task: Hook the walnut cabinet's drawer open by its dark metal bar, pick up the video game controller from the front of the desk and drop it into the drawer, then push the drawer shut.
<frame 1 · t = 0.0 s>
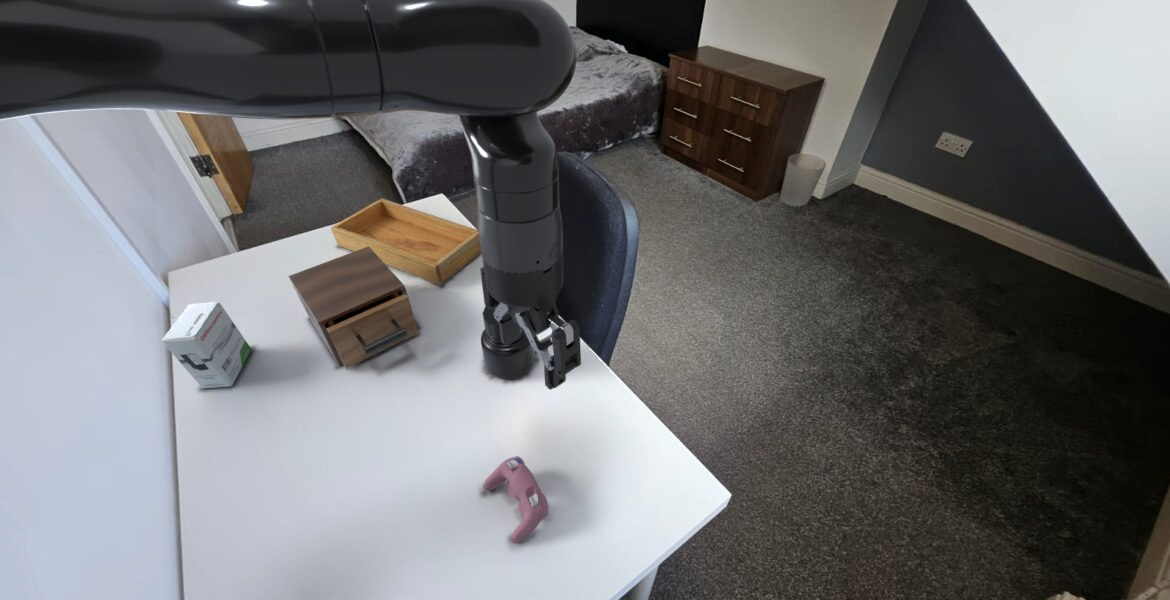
hand: (532, 361, 54), 22 cm above the table, tool pointing down, fingers open, 8 cm apart
ink box: (228, 369, 81), on the table
cabinet: (363, 323, 90), on the table
drawer: (366, 317, 83), point 5 cm above the table, slide at 1.0 cm
video game controller: (517, 505, 64), on the table
tray: (411, 250, 108), on the table
ink bottle: (510, 362, 83), on the table
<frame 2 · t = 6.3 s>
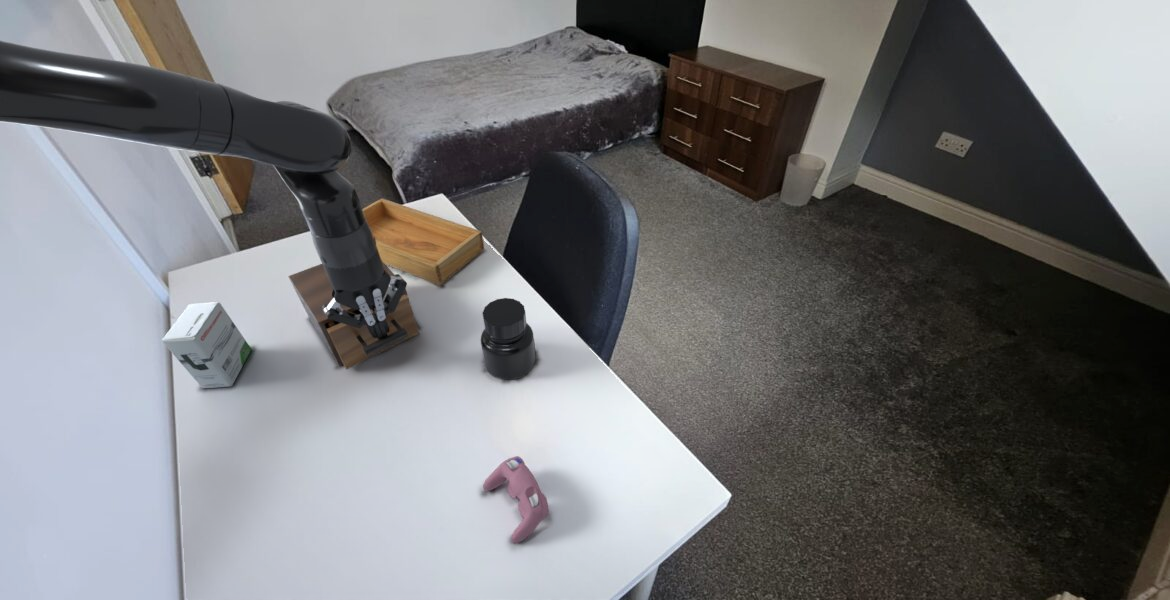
hand: (380, 335, 78), 7 cm above the table, tool pointing down, fingers closed
drawer: (366, 318, 83), point 5 cm above the table, slide at 1.2 cm, touching gripper
everything else where it was.
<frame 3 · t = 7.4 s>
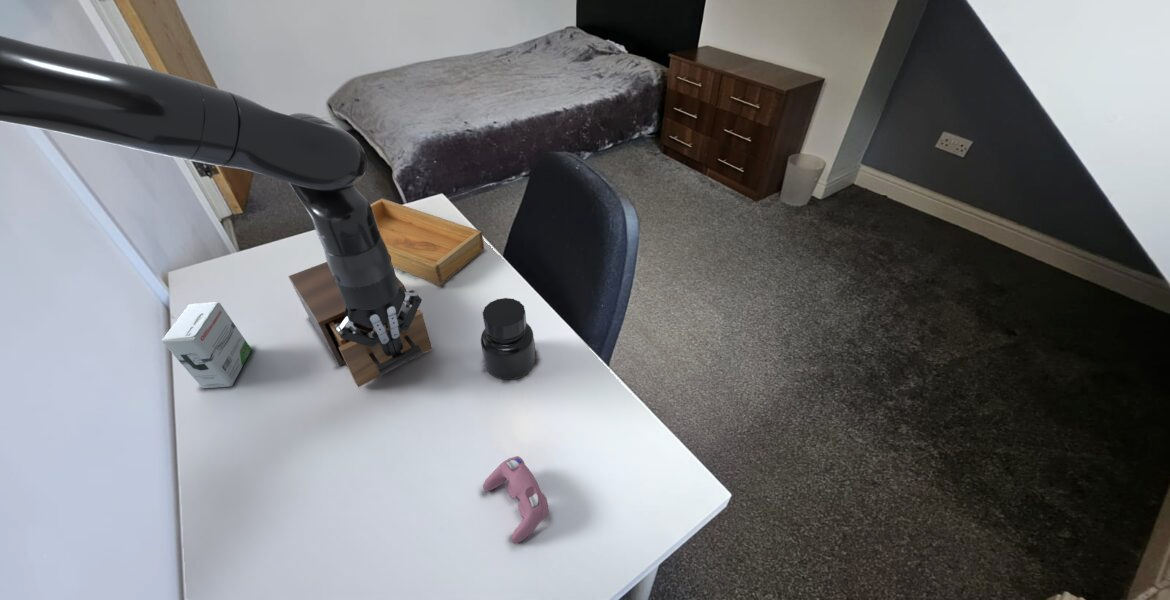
hand: (394, 352, 75), 7 cm above the table, tool pointing down, fingers closed
drawer: (378, 334, 80), point 5 cm above the table, slide at 6.3 cm, touching gripper
everything else where it was.
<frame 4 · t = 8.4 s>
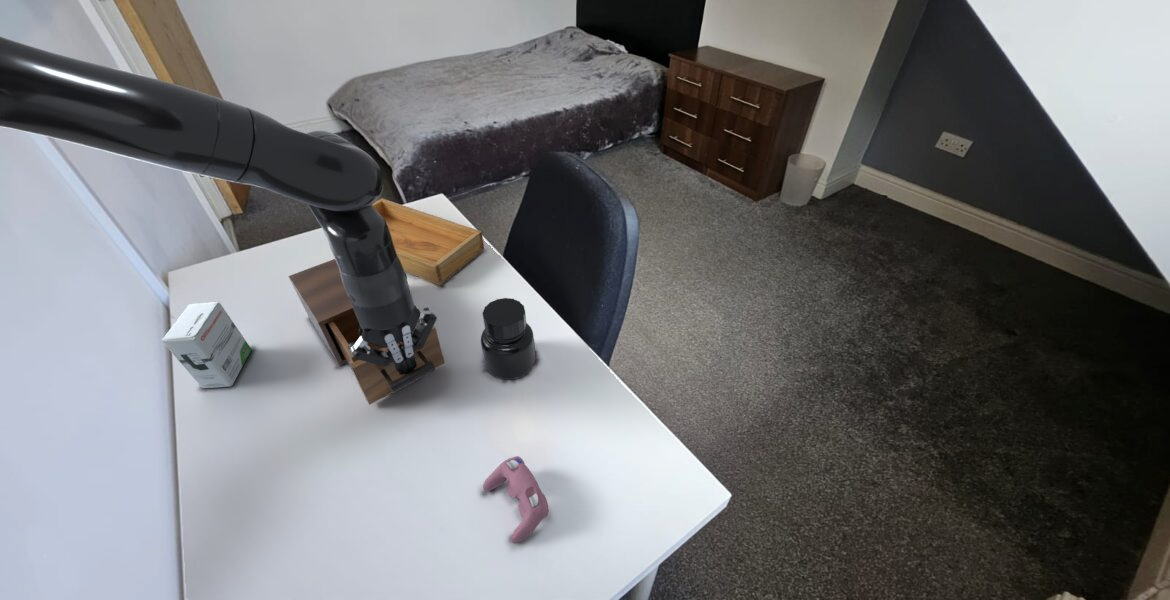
hand: (407, 371, 74), 6 cm above the table, tool pointing down, fingers closed
drawer: (389, 349, 78), point 5 cm above the table, slide at 10.8 cm, touching gripper
everything else where it was.
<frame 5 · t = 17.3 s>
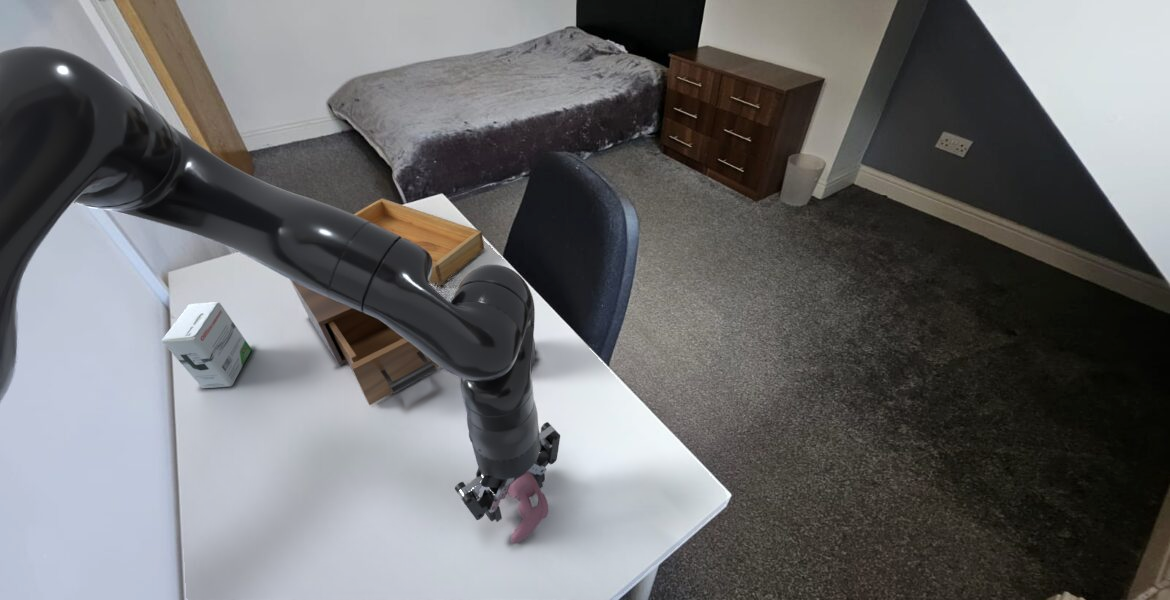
hand: (516, 498, 63), 2 cm above the table, tool pointing down, fingers closed on video game controller, 6 cm apart
drawer: (390, 349, 78), point 5 cm above the table, slide at 10.9 cm
video game controller: (517, 505, 64), on the table, touching gripper
everything else where it was.
when the fingers open (10 cm above the table, at t = 39.4 s): video game controller drops 6 cm, resting on drawer.
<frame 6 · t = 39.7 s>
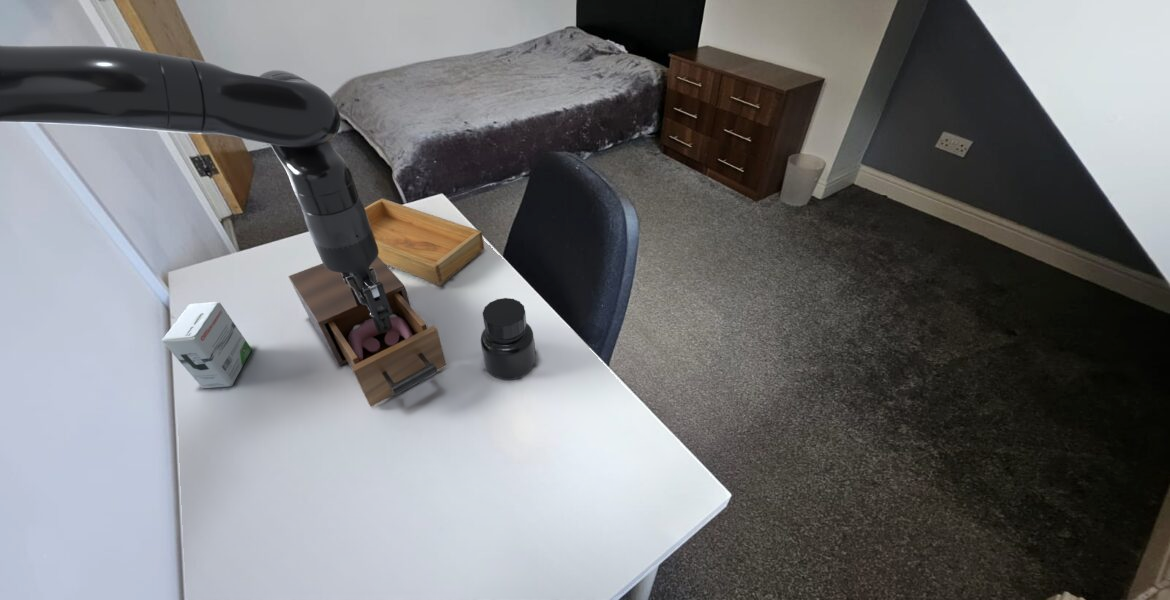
hand: (374, 316, 75), 11 cm above the table, tool pointing down, fingers open, 8 cm apart
drawer: (391, 350, 78), point 5 cm above the table, slide at 11.4 cm, touching video game controller
video game controller: (385, 351, 81), point 3 cm above the table, touching drawer
everything else where it was.
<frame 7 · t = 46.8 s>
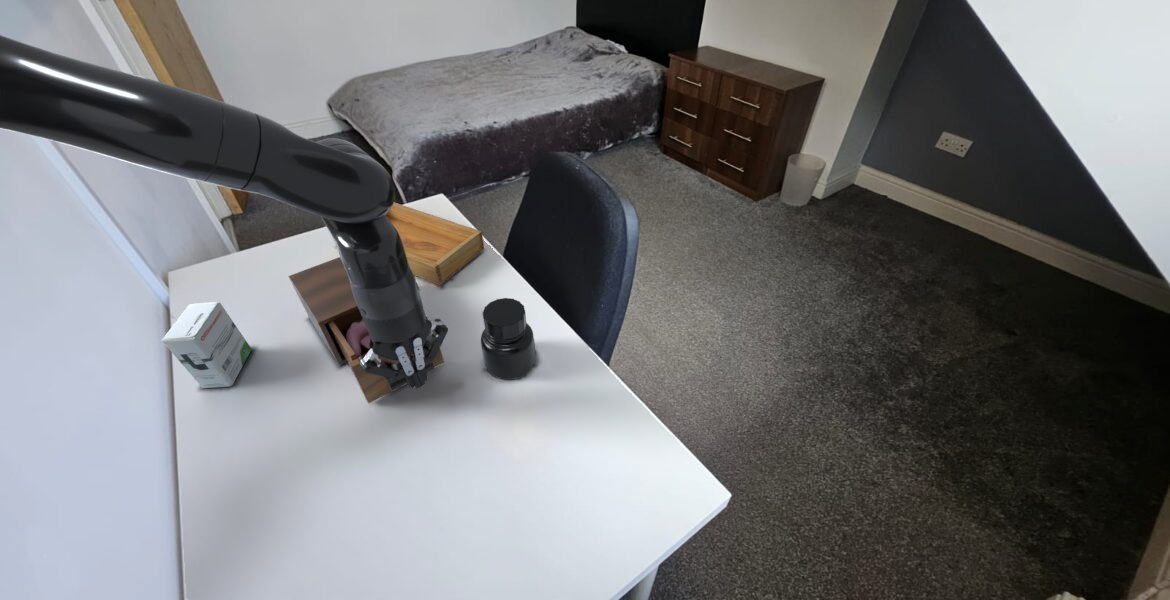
hand: (418, 383, 72), 6 cm above the table, tool pointing down, fingers closed
drawer: (388, 347, 78), point 5 cm above the table, slide at 10.5 cm, touching gripper, video game controller
everything else where it was.
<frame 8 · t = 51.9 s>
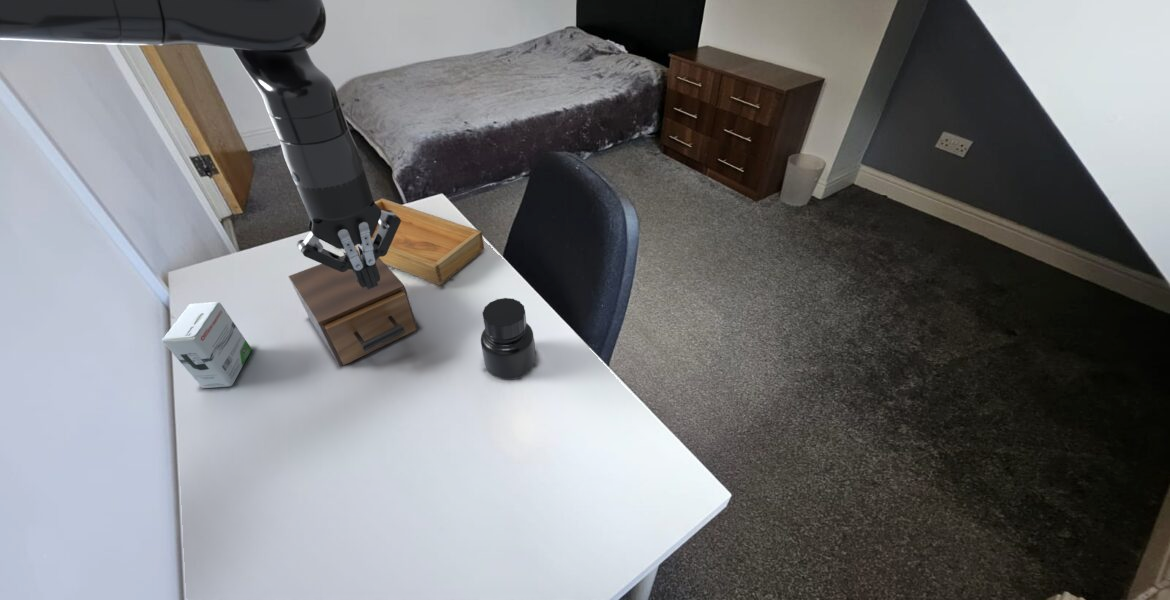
hand: (370, 285, 66), 21 cm above the table, tool pointing down, fingers closed
drawer: (363, 314, 84), point 5 cm above the table, slide at 0.0 cm, touching video game controller
video game controller: (359, 316, 87), point 3 cm above the table, touching drawer
everything else where it was.
at the end: drawer pulled out 11.4 cm at the most during the clip, back to where it started at the end; video game controller inside the target area in the cabinet (0.8 cm from its centre), point 2.5 cm above the cabinet's base; drawer slide at 0.0 cm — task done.
